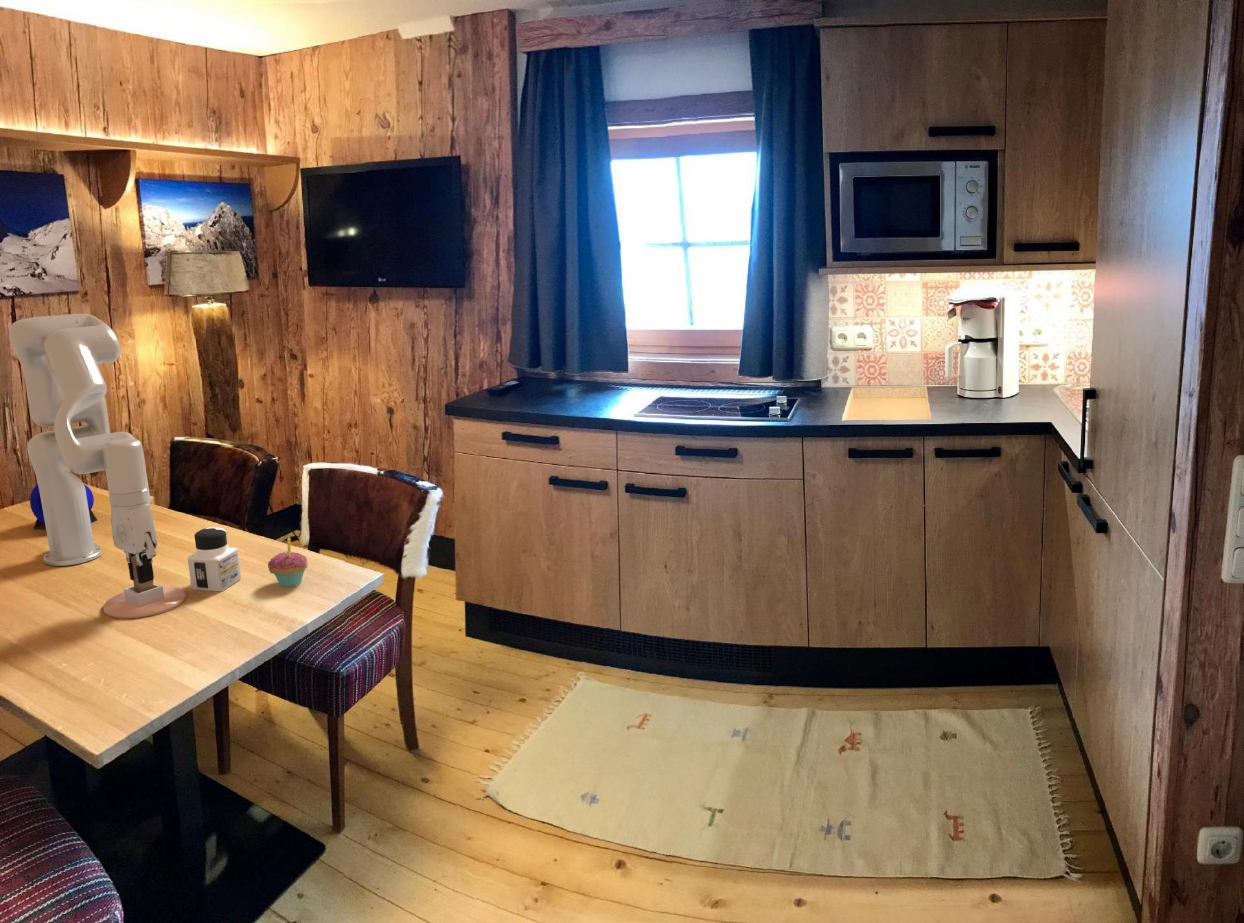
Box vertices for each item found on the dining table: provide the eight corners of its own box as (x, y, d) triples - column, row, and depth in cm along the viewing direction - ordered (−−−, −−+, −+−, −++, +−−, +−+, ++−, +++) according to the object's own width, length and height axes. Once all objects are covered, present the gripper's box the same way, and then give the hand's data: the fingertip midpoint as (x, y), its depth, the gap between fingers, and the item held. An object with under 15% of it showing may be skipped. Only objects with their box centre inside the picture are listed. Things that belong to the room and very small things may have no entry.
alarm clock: (31, 530, 261) (21, 475, 257) (63, 515, 273) (55, 463, 269) (72, 532, 259) (63, 477, 255) (103, 517, 271) (95, 465, 267)
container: (222, 592, 218) (215, 536, 215) (190, 589, 220) (183, 534, 216) (241, 579, 226) (235, 525, 222) (211, 577, 227) (204, 523, 224)
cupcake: (316, 582, 223) (311, 532, 220) (281, 593, 217) (276, 542, 214) (297, 573, 229) (292, 524, 226) (262, 583, 223) (257, 533, 220)
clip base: (89, 606, 211) (86, 591, 210) (160, 583, 224) (158, 568, 223) (128, 624, 202) (126, 608, 201) (200, 599, 214) (198, 584, 213)
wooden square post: (135, 596, 212) (130, 556, 210) (147, 592, 214) (143, 553, 212) (141, 599, 210) (137, 559, 208) (154, 595, 212) (150, 556, 210)
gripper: (92, 496, 208) (105, 577, 213) (132, 508, 199) (145, 593, 204) (127, 487, 214) (139, 567, 219) (167, 499, 205) (179, 582, 209)
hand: (142, 579), depth 211 cm, fingers closed on wooden square post, 2 cm apart
